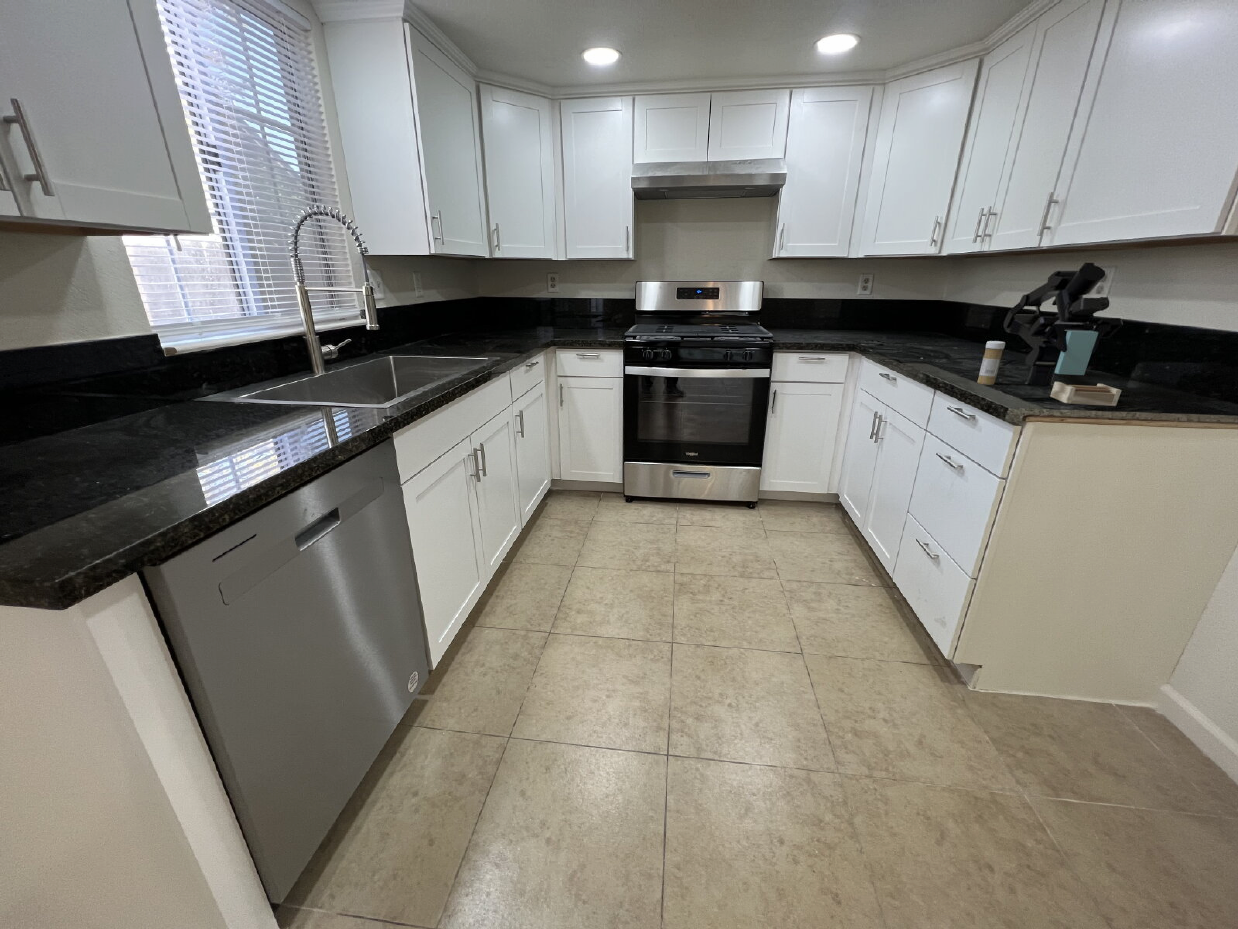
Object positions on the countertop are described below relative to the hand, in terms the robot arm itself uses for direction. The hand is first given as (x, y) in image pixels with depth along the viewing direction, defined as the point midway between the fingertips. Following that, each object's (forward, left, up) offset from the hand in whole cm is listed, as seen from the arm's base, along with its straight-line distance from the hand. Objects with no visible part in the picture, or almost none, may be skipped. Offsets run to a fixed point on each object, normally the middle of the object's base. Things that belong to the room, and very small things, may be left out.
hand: (1079, 351), depth 134 cm
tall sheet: (-1, -1, -6) cm, 6 cm away
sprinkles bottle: (-3, -19, -13) cm, 23 cm away
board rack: (+7, +4, -12) cm, 15 cm away
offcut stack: (+8, +4, -12) cm, 15 cm away
